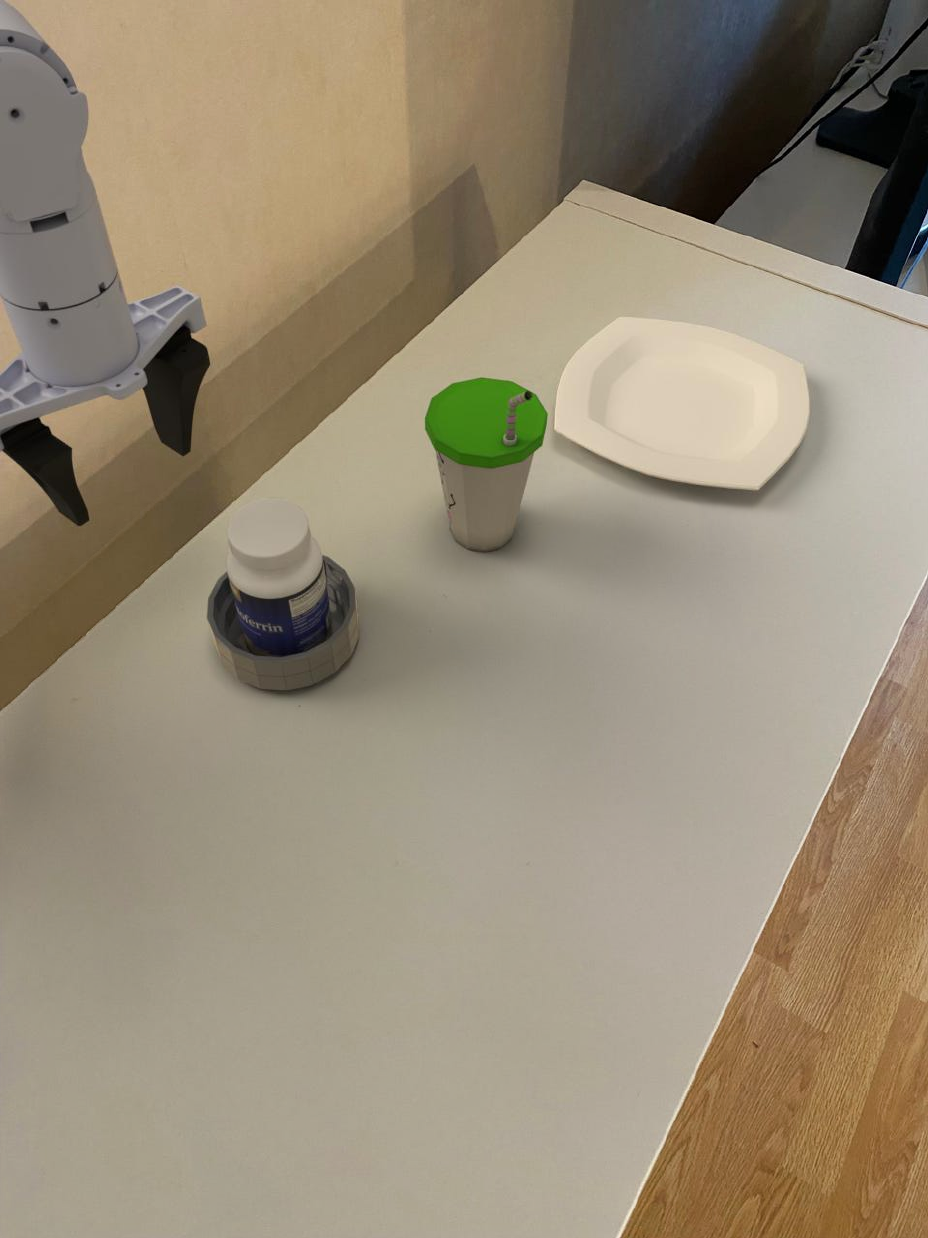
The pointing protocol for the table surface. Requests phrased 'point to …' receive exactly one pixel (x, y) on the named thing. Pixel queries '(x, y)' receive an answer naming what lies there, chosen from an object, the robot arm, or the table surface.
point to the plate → (684, 403)
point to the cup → (484, 455)
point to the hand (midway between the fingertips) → (126, 480)
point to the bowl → (293, 667)
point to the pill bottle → (277, 578)
